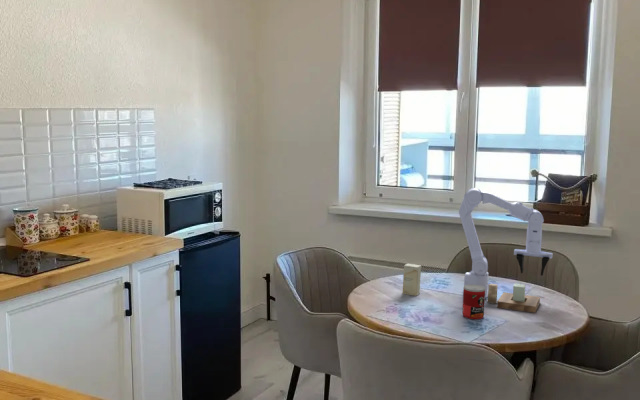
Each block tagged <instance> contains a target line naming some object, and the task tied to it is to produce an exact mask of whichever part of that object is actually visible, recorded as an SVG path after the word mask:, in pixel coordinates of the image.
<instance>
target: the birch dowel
mask: <svg viewBox="0 0 640 400" xmlns="http://www.w3.org/2000/svg"><path fill="white" fill-rule="evenodd" d="M498 287H499V286H498V284H496V283H488V296H487V304H488V303H489V304H497V301H498Z"/></svg>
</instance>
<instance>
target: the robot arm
mask: <svg viewBox="0 0 640 400" xmlns="http://www.w3.org/2000/svg"><path fill="white" fill-rule="evenodd" d="M481 202H482V204H492V205H495V206H497V207H500V208H501V209H504V210H506V211H508V213H509V215H510V216H512V217H514V218H516V219H518V220H521V221H523V222H527V229H526V238H525V239H526V240H525V249H519V248H515V249H514V250H513V256H515V257H516V260H517V262H518V265H519V268H520V274H523V273H524V260H525V256H527V257H528V256H529V257H536V258H537V257H538V258H541V269H540V270H541V271H540V276H543V275H544V274H545V273H544V272H545V270H546V269H545V268H546V266H547V264H548V262H549V261H550V260H551V259H553V256H554V255H553V252H547V251H543V250H542V239H543V224H544V221H545V219H544V216H543V214H542V213H541V212H540V211H539V210H538V209H534V207H529V206H527V205H524V203H523V202H521V201H514V202H510V201H507V200H505V199H503V198H502V197H500V196H498V195H496V194H494V193H491V192H489V191H486V190H484V189H480V188H478V187H471V188H469V189H468V190H467V192H466V193H465V194H464V196H463V197H462V201H461V204H460V206H459V209H458V214H459V218H460V221H461V224H462V228H463V231H464V235H465V239H466V242H467V246H468V248H469V252H470V256H471V257H470V258H471V261H472V262H471V263H472V264H471V265H472V266H471V270H470V271H469V272H465V274H464V279H463V287H464V286H465V285H469V284H474V285H480V286H483V287H485V299H488V284H489V272H488V269H489V266H488V265H489V263H488V259H487V258H486V256H485V255H484V252H483V250H482V247H481V243H480V240H479V237H478V233H477V229H476V226H475V223H474V219H473V216H472V213H473V211H474V209H475V208H476V207H477V206H478V205H480V203H481Z"/></svg>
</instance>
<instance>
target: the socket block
mask: <svg viewBox="0 0 640 400" xmlns="http://www.w3.org/2000/svg"><path fill="white" fill-rule="evenodd" d="M540 300H541V297H540V296H535V295H529V294H528V295H527V294H525V302H521V301H514V300H513V292H505V291H504V292H503V293H502V294H501V296H500V297H499V298H498V299H497V303H496V307H497V308H499V309H505V310H512V311H519V312H520V311H521V312H527V313H528V312H529V313H535V314H536V312H537V310H538V308H539V305H540V302H541V301H540Z"/></svg>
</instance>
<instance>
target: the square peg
mask: <svg viewBox="0 0 640 400" xmlns="http://www.w3.org/2000/svg"><path fill="white" fill-rule="evenodd" d="M512 293H513V300H514V301H521V302H525V295H526V284H522V283H514V284H513V287H512Z"/></svg>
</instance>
